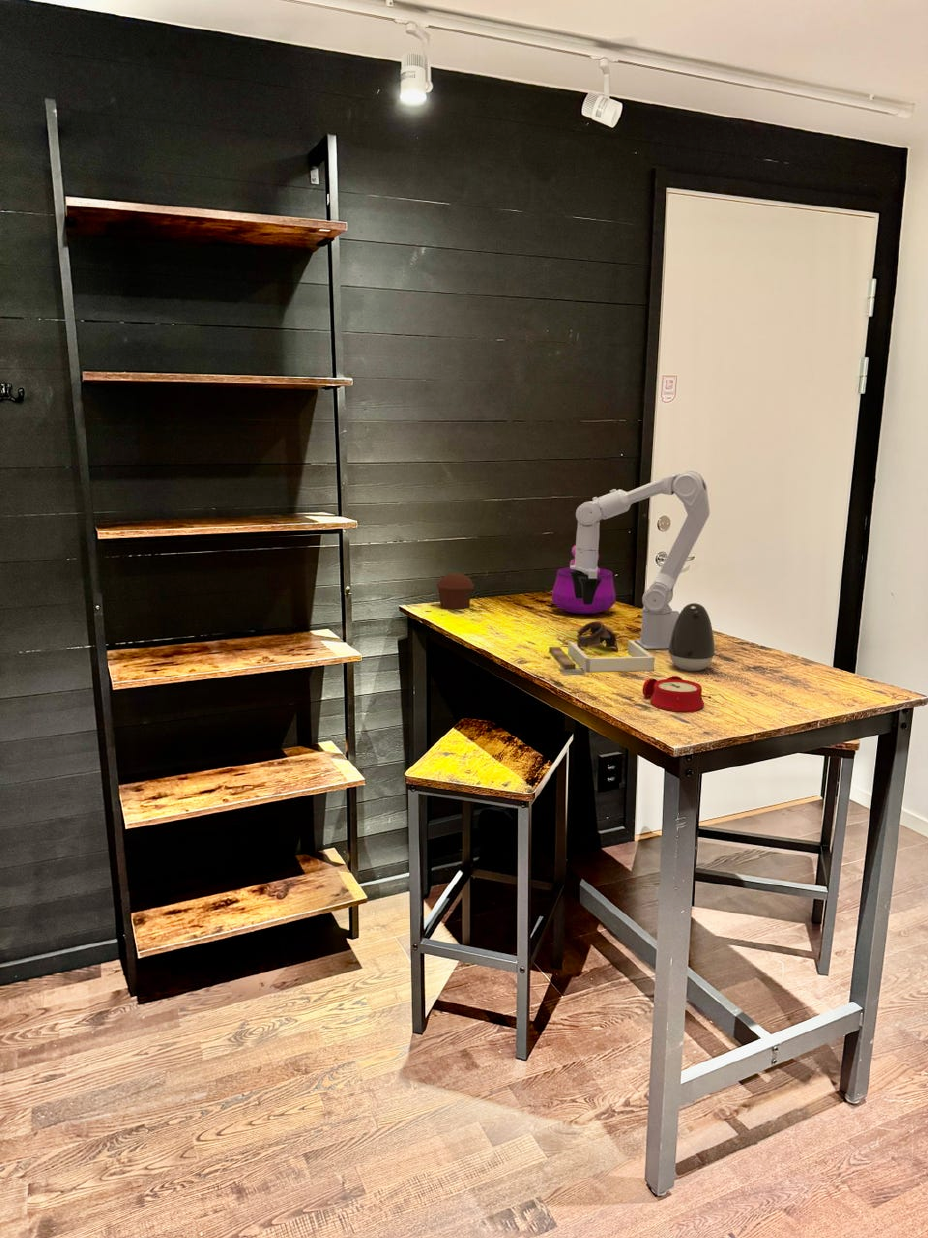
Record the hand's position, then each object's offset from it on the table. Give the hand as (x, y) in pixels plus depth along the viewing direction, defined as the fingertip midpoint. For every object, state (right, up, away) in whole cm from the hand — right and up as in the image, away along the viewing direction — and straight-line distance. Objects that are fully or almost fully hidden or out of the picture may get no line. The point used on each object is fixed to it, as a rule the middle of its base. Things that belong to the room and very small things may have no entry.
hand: (583, 601), depth 220 cm
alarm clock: (+11, -22, -48) cm, 54 cm away
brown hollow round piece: (+2, -12, -8) cm, 15 cm away
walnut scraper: (-8, -15, -21) cm, 27 cm away
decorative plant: (+4, -3, +33) cm, 34 cm away
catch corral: (+3, -15, -20) cm, 25 cm away
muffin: (-34, -1, +39) cm, 52 cm away
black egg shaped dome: (+21, -16, -25) cm, 36 cm away
